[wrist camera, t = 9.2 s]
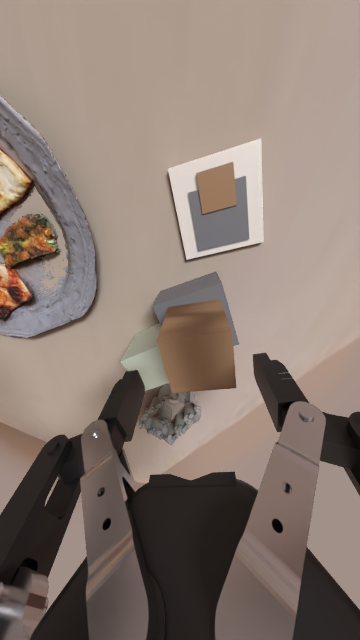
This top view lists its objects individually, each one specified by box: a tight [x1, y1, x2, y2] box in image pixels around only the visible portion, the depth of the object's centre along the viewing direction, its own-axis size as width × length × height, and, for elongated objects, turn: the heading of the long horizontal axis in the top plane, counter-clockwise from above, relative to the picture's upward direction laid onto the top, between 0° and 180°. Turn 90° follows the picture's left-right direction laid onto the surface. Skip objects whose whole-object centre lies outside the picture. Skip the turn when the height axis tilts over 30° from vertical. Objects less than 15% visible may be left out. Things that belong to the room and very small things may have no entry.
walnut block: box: [157, 299, 236, 393], centre depth 15 cm, size 5×5×6 cm
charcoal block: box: [152, 272, 239, 346], centre depth 20 cm, size 7×7×5 cm
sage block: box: [120, 323, 169, 391], centre depth 22 cm, size 5×5×6 cm
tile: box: [168, 139, 264, 260], centre depth 17 cm, size 8×8×1 cm
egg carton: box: [139, 384, 201, 445], centre depth 30 cm, size 11×8×4 cm
